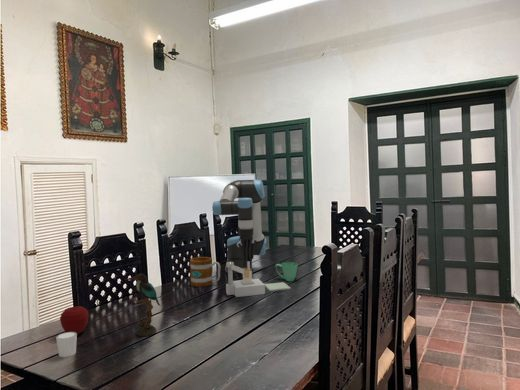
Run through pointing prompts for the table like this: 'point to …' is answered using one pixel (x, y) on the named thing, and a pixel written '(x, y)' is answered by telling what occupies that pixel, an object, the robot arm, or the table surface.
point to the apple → (74, 319)
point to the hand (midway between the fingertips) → (247, 273)
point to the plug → (247, 279)
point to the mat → (277, 286)
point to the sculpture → (148, 293)
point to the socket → (243, 287)
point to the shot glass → (66, 344)
